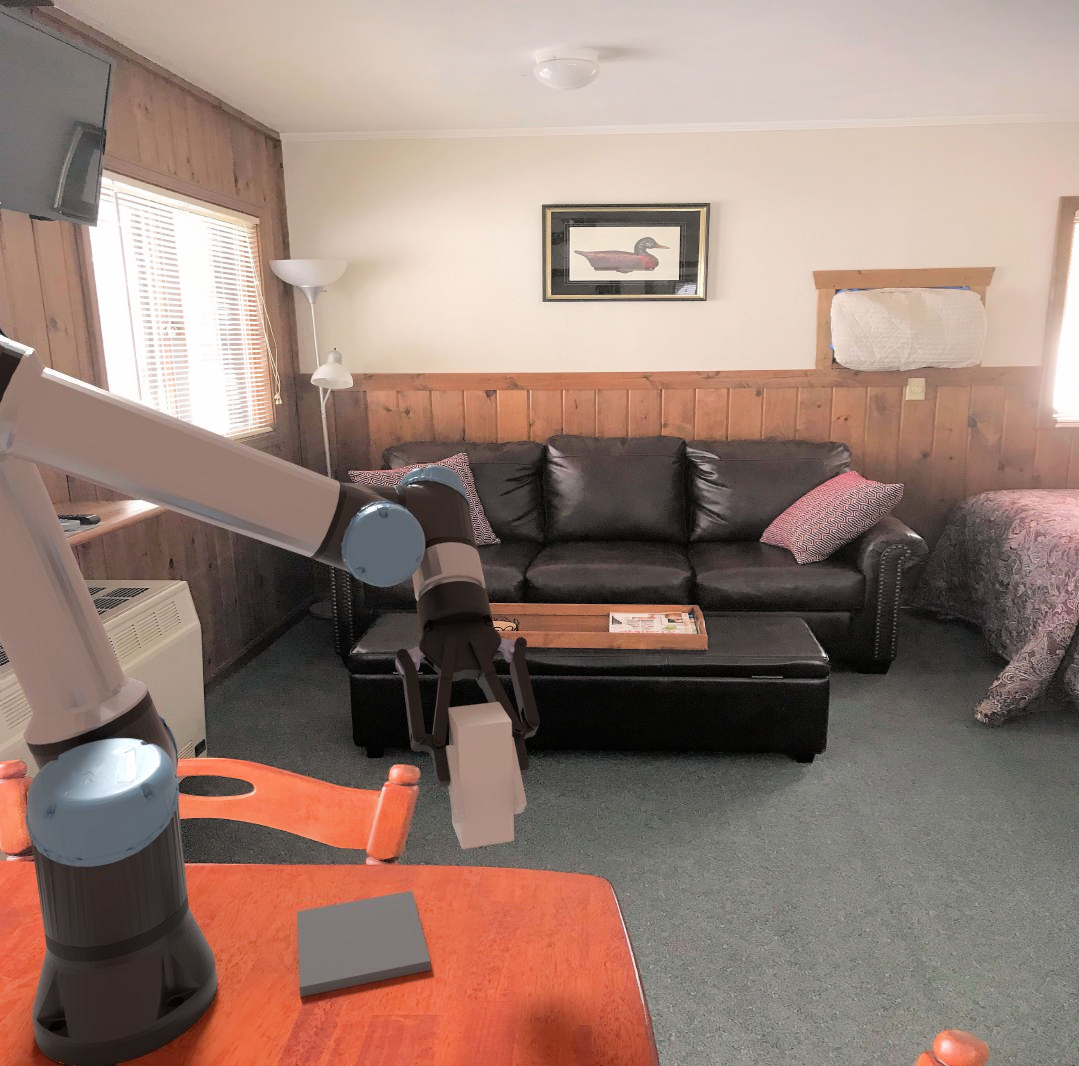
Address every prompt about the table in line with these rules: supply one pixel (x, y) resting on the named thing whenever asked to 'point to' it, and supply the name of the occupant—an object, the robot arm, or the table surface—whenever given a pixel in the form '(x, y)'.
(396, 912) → the mat
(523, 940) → the table surface
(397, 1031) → the table surface
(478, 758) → the white rectangular block
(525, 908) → the table surface
